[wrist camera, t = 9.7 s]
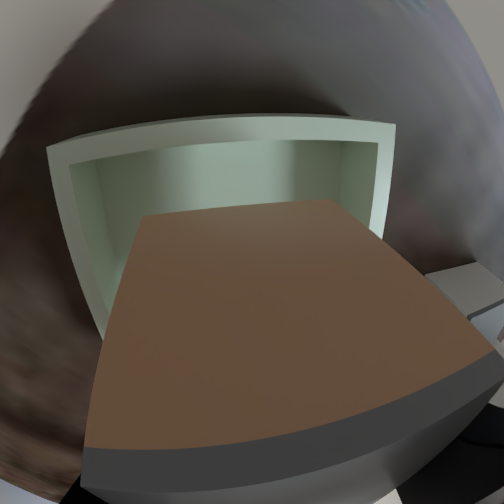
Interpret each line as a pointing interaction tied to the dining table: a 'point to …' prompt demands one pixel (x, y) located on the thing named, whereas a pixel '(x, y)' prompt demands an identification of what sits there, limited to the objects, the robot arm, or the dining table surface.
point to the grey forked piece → (474, 296)
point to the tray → (208, 179)
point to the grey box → (276, 363)
